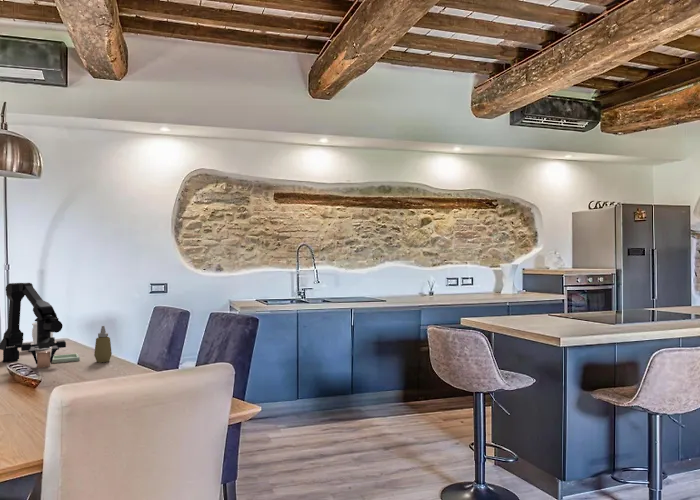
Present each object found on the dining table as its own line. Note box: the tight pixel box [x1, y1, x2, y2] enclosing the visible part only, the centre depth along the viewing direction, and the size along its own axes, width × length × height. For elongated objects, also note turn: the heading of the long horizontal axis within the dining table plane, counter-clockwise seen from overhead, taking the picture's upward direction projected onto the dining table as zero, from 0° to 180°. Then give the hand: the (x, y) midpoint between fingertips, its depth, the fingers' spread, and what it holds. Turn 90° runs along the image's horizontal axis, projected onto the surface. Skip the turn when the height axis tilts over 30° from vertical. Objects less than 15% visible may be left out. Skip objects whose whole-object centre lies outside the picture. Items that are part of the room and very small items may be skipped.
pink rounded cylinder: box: [36, 350, 51, 369], centre depth 260 cm, size 6×6×7 cm
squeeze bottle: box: [94, 325, 113, 364], centre depth 272 cm, size 8×8×18 cm
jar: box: [31, 321, 54, 351], centre depth 307 cm, size 11×10×15 cm
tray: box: [51, 353, 81, 364], centre depth 275 cm, size 12×12×2 cm
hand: (43, 363), depth 260 cm, fingers closed on pink rounded cylinder, 6 cm apart
